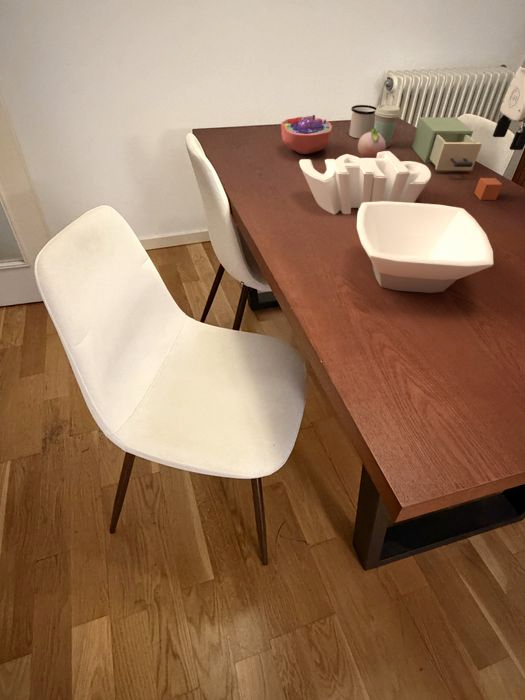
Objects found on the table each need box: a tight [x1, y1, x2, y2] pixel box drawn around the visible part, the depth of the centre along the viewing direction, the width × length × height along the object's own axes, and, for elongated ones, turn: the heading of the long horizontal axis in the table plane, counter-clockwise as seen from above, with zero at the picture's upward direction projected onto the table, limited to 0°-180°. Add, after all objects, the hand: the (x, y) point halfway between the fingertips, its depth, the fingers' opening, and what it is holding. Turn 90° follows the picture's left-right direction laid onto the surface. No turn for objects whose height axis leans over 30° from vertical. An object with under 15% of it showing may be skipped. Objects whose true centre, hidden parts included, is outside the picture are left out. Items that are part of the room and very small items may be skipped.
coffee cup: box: [373, 104, 401, 149], centre depth 139 cm, size 8×8×12 cm
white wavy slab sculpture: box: [299, 150, 432, 215], centre depth 107 cm, size 35×16×11 cm, turn 91°
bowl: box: [356, 201, 494, 294], centre depth 82 cm, size 24×25×10 cm
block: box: [473, 177, 503, 201], centre depth 112 cm, size 4×4×4 cm
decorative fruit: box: [357, 129, 386, 158], centre depth 128 cm, size 9×8×10 cm
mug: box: [348, 104, 377, 140], centre depth 148 cm, size 12×10×9 cm
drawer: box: [428, 134, 483, 172], centre depth 125 cm, size 18×11×8 cm, turn 1°
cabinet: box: [411, 116, 474, 164], centre depth 134 cm, size 15×13×10 cm
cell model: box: [280, 114, 333, 155], centre depth 134 cm, size 17×20×11 cm
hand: (506, 142), depth 104 cm, fingers open, 9 cm apart
